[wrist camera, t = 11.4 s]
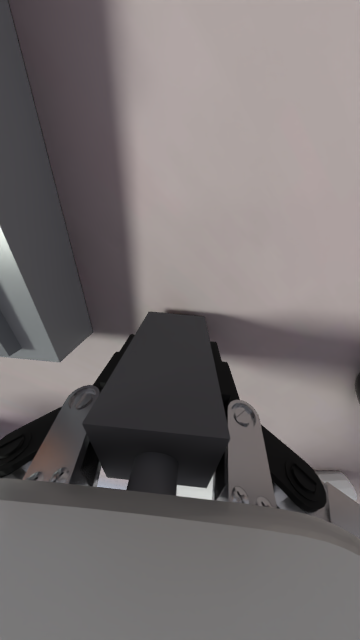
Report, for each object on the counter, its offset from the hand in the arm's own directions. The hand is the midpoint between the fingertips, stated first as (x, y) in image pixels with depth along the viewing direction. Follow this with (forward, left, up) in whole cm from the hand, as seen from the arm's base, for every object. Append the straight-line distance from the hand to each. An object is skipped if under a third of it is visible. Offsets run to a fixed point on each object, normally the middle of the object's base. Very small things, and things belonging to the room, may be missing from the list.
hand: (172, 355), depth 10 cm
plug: (0, 0, -3) cm, 3 cm away
